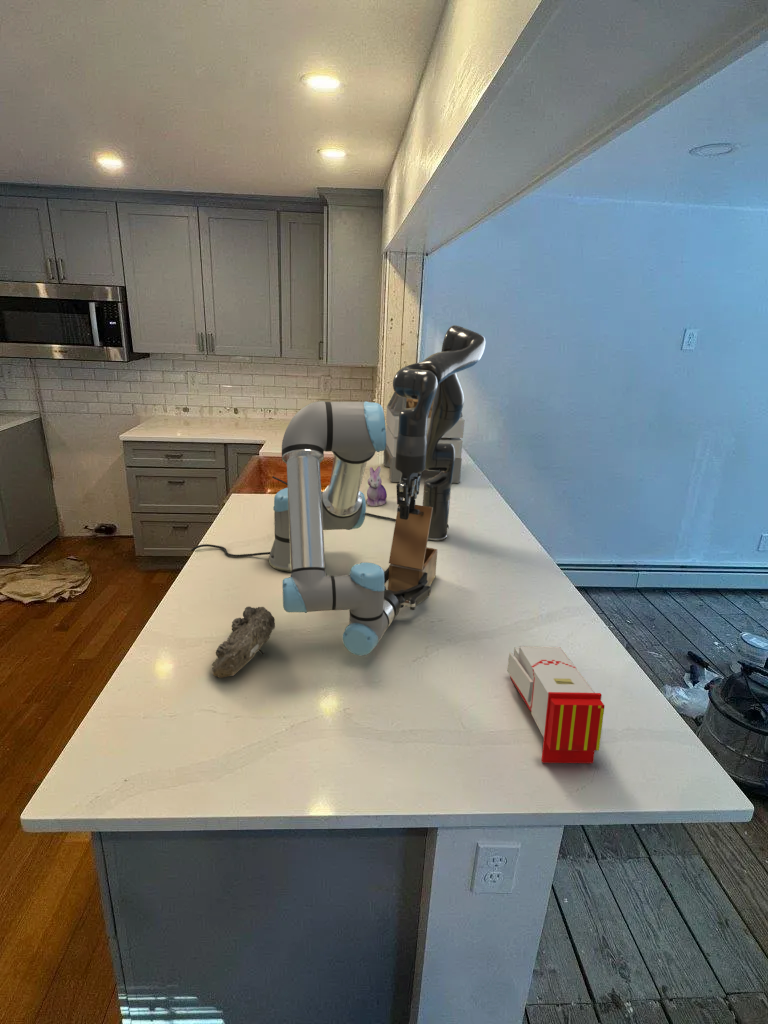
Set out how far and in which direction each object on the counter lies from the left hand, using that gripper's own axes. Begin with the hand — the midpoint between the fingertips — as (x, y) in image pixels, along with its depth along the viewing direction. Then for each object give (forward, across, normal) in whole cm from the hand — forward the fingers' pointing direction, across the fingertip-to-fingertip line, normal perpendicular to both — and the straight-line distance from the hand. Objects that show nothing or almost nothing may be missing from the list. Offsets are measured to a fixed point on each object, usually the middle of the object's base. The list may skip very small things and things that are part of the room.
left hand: (408, 573), depth 156 cm
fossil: (-42, -24, -6) cm, 49 cm away
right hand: (-4, 0, +18) cm, 19 cm away
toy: (-37, +40, -6) cm, 55 cm away
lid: (+1, 0, +11) cm, 11 cm away
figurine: (+68, -35, -6) cm, 77 cm away
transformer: (+120, -31, -6) cm, 124 cm away
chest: (+5, 0, -6) cm, 8 cm away
